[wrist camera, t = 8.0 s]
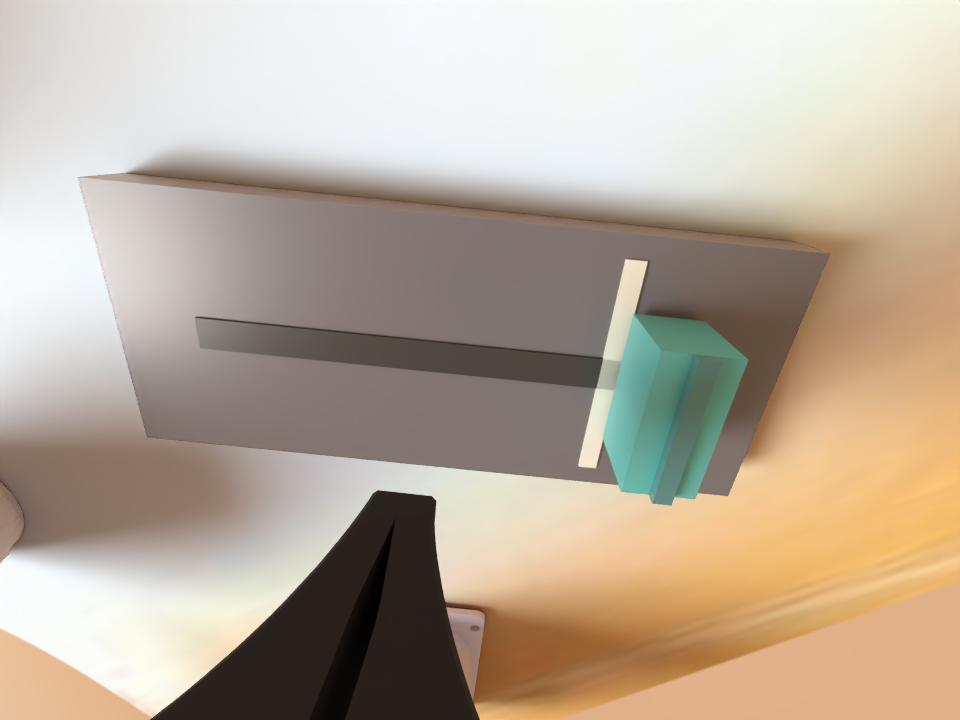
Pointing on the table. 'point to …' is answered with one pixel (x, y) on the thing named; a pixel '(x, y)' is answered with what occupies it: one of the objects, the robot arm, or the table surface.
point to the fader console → (419, 322)
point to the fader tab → (670, 405)
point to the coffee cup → (9, 521)
